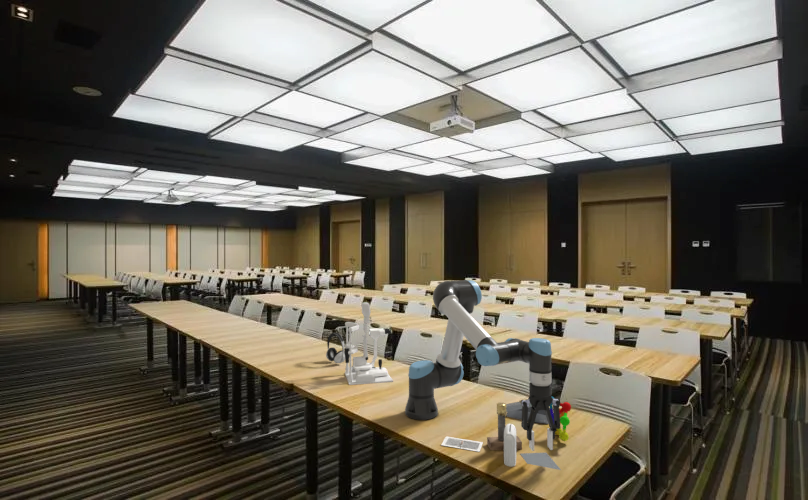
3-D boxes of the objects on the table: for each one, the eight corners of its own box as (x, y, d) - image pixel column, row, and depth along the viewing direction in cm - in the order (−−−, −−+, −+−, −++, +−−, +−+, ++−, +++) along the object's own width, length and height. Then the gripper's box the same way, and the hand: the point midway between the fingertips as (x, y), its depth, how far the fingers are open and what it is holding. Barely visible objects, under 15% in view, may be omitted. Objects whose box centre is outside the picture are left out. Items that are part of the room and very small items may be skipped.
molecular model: (541, 429, 172) (541, 394, 171) (562, 427, 173) (563, 393, 172) (557, 449, 157) (557, 411, 156) (581, 447, 158) (581, 410, 157)
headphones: (323, 360, 284) (322, 331, 284) (333, 358, 290) (333, 330, 290) (338, 366, 270) (338, 335, 270) (349, 363, 276) (349, 333, 276)
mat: (534, 475, 138) (534, 474, 138) (520, 454, 152) (520, 453, 152) (563, 473, 139) (563, 472, 139) (546, 453, 153) (546, 452, 153)
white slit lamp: (394, 381, 238) (393, 304, 238) (348, 385, 231) (347, 305, 231) (386, 370, 261) (385, 299, 261) (343, 373, 255) (343, 300, 255)
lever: (500, 416, 155) (500, 406, 155) (494, 412, 158) (494, 403, 158) (533, 409, 162) (533, 400, 162) (527, 406, 165) (527, 397, 165)
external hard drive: (547, 425, 178) (547, 416, 178) (505, 417, 186) (505, 409, 186) (551, 415, 189) (551, 406, 189) (511, 408, 197) (511, 400, 197)
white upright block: (504, 453, 153) (504, 419, 153) (516, 454, 152) (516, 421, 152) (503, 466, 143) (503, 431, 143) (516, 468, 142) (515, 433, 142)
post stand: (490, 451, 155) (490, 416, 155) (487, 444, 160) (487, 411, 160) (521, 449, 155) (521, 415, 156) (517, 443, 160) (517, 410, 160)
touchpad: (446, 439, 166) (446, 433, 166) (483, 445, 160) (483, 439, 160) (440, 447, 158) (440, 442, 158) (479, 454, 153) (479, 448, 153)
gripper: (517, 387, 141) (518, 454, 141) (571, 385, 142) (571, 452, 142) (510, 380, 148) (511, 444, 148) (561, 379, 150) (562, 442, 150)
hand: (540, 448), depth 145 cm, fingers open, 6 cm apart
